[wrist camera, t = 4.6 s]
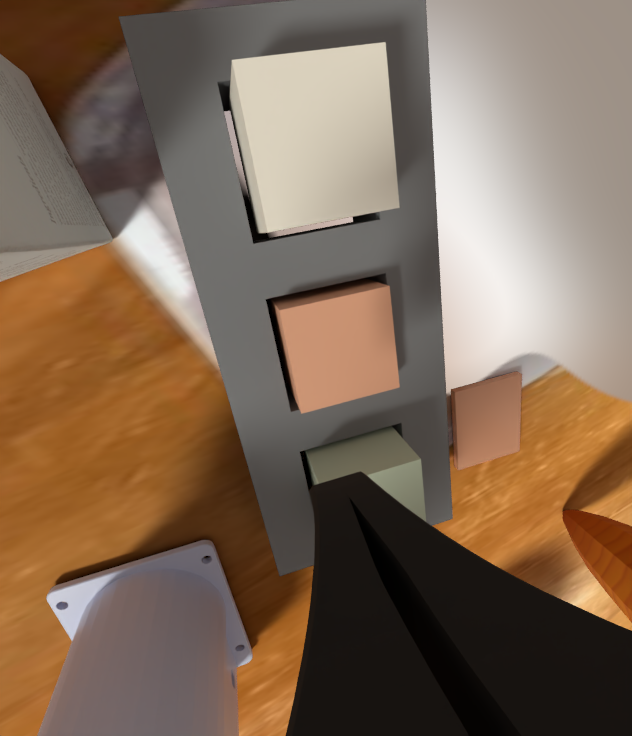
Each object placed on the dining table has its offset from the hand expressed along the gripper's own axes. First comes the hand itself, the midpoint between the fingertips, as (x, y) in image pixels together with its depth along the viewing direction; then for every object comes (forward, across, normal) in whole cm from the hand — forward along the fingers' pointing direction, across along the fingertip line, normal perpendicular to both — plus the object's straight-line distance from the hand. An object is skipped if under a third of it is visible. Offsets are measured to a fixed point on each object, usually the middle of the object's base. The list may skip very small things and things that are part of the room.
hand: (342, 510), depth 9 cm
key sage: (+8, -2, +4) cm, 9 cm away
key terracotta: (+9, -2, -2) cm, 9 cm away
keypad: (+9, -2, -2) cm, 10 cm away
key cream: (+7, -2, -9) cm, 12 cm away
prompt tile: (+9, -11, +5) cm, 15 cm away
